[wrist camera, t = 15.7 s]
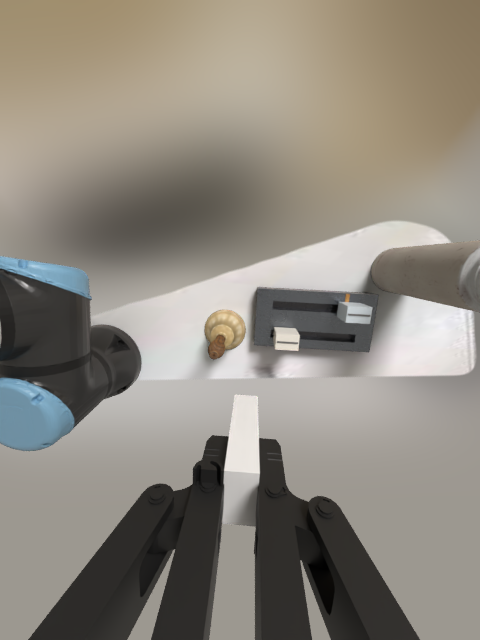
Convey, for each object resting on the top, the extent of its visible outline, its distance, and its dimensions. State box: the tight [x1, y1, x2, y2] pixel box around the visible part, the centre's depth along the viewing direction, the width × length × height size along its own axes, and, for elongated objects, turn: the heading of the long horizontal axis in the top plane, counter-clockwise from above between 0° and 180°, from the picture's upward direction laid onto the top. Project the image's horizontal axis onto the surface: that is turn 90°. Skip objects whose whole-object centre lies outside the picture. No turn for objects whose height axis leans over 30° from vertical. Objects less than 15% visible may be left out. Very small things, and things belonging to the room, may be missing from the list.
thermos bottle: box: [371, 240, 480, 312], centre depth 36 cm, size 8×8×28 cm
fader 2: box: [337, 302, 373, 324], centre depth 48 cm, size 4×3×7 cm
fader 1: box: [273, 327, 300, 351], centre depth 49 cm, size 4×3×6 cm
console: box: [254, 287, 378, 352], centre depth 52 cm, size 22×11×3 cm, turn 87°
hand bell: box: [205, 310, 246, 359], centre depth 47 cm, size 8×8×16 cm
